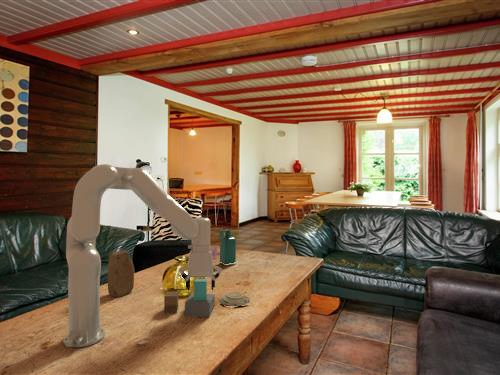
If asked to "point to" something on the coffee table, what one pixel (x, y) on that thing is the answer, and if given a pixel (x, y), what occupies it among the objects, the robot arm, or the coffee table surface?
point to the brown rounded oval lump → (120, 273)
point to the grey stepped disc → (234, 299)
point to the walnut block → (171, 302)
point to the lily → (214, 251)
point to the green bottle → (227, 247)
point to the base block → (199, 306)
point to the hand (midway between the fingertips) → (200, 289)
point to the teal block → (200, 289)
